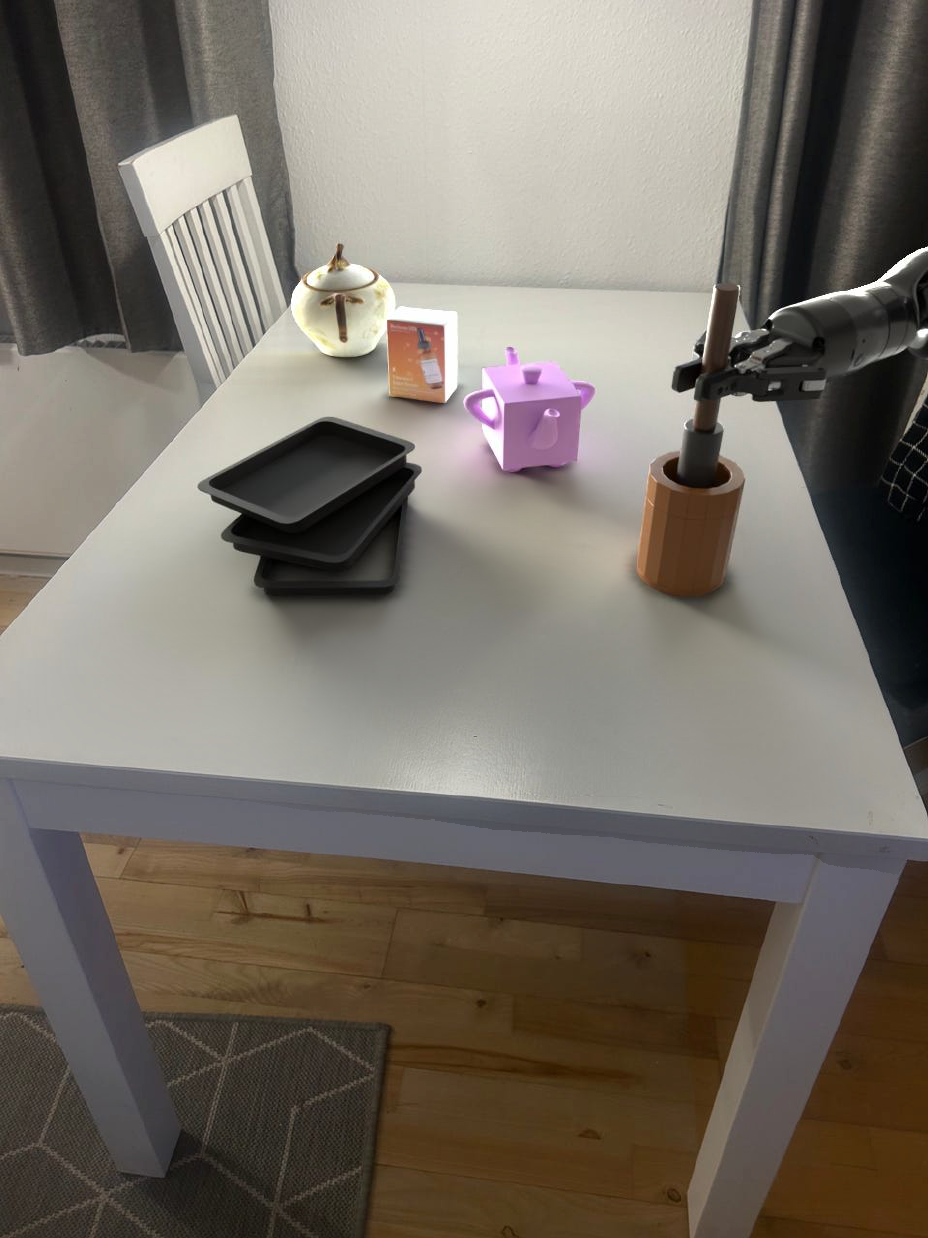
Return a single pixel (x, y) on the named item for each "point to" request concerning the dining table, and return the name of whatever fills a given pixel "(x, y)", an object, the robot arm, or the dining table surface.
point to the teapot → (530, 413)
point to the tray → (317, 502)
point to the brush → (705, 429)
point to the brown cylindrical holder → (688, 528)
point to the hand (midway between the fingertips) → (687, 385)
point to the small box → (422, 354)
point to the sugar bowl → (343, 307)
